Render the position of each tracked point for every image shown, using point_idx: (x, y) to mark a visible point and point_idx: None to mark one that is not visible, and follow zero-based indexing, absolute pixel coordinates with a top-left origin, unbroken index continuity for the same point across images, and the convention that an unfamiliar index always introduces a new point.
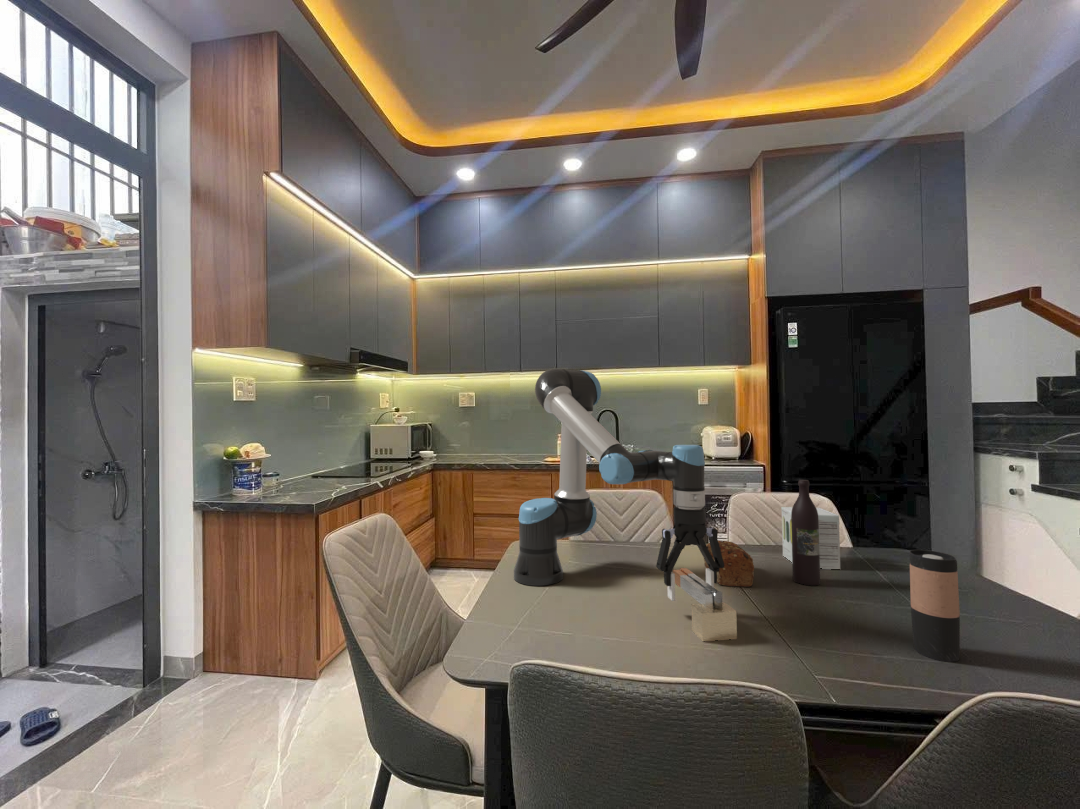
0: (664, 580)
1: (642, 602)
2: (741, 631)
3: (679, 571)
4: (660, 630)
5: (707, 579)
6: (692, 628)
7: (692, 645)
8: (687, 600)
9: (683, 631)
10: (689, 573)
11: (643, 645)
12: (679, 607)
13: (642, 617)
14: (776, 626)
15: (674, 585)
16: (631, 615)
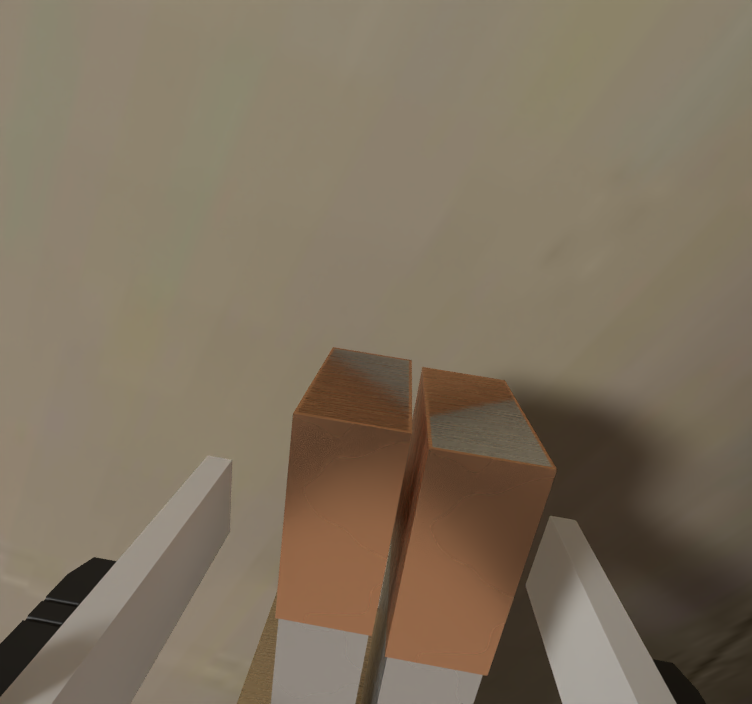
0: (49, 604)
1: (159, 177)
2: (502, 658)
3: (355, 508)
4: (135, 539)
5: (604, 686)
6: (271, 609)
7: (215, 666)
8: (519, 249)
9: (238, 578)
10: (423, 658)
11: (22, 609)
12: (380, 342)
13: (88, 394)
14: (711, 680)
15: (156, 649)
16: (30, 351)
